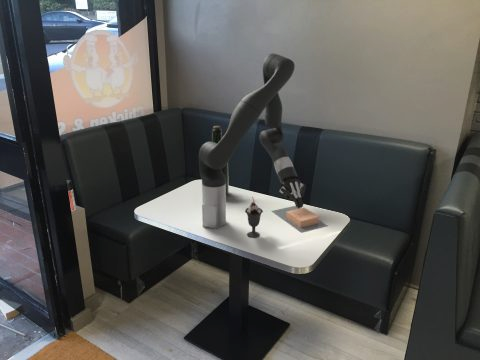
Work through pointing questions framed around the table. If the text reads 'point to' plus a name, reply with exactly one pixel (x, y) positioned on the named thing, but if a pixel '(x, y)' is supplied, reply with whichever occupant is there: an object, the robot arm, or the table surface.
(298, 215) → the terracotta brick
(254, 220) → the sundae
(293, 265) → the table surface
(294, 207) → the slate board
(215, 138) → the beer bottle
